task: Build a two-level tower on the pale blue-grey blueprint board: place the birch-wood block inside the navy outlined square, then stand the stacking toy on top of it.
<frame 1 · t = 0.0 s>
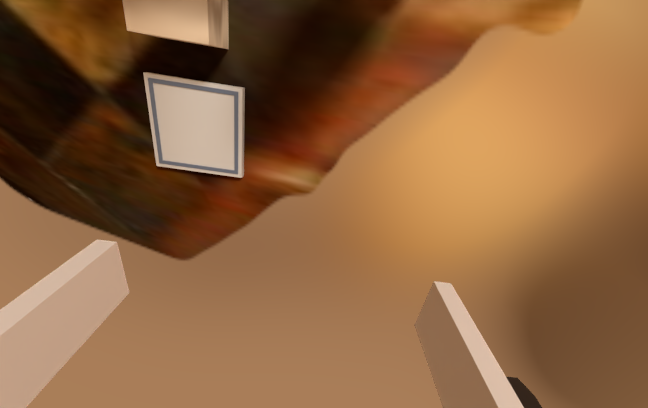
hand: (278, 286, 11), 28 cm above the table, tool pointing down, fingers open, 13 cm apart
blueprint board: (199, 128, 36), on the table
birch block: (193, 3, 30), on the table
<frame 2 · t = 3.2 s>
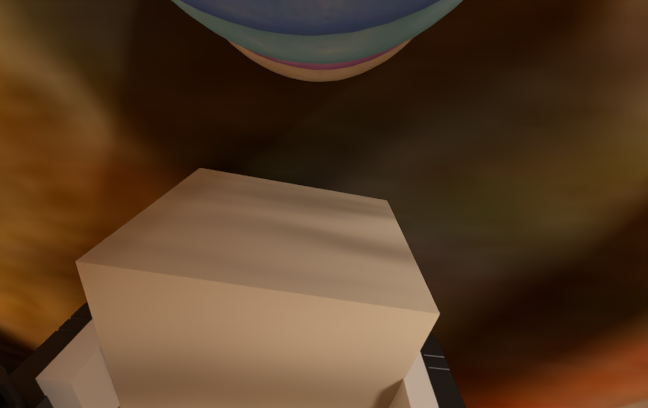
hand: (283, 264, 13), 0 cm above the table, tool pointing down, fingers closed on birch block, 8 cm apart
birch block: (284, 258, 13), on the table, touching gripper
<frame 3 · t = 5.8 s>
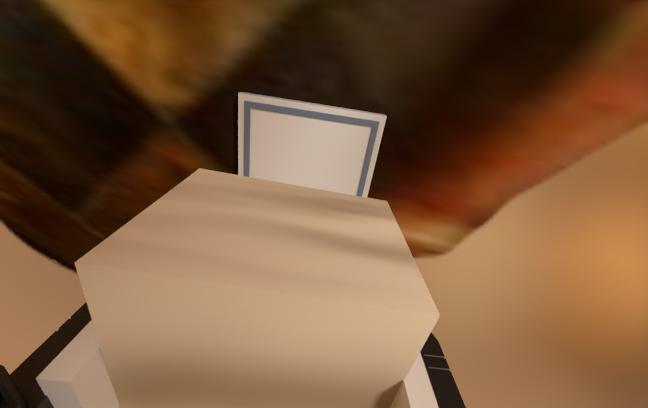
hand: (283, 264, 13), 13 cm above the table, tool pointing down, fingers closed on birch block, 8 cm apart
blueprint board: (305, 170, 25), on the table
birch block: (284, 259, 13), point 13 cm above the table, touching gripper
when the fingers open (2 cm above the table, at t = 8.3 s): birch block stays where it is, resting on blueprint board.
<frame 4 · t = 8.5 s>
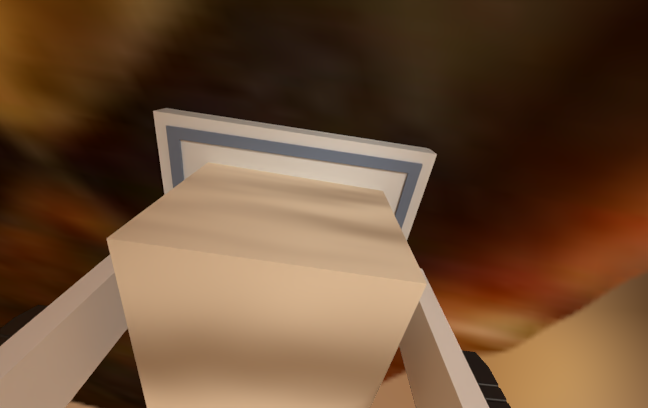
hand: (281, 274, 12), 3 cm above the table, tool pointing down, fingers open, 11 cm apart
blueprint board: (289, 237, 15), on the table
birch block: (287, 248, 14), point 1 cm above the table, touching blueprint board
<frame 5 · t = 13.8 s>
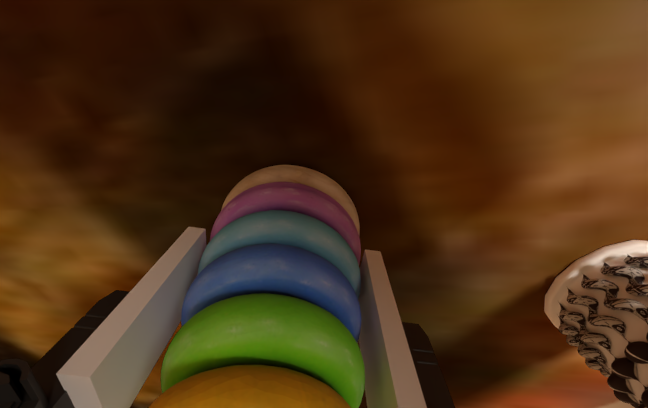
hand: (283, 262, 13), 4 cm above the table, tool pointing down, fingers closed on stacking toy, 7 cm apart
stacking toy: (292, 221, 16), on the table, touching gripper
decorative candle: (605, 288, 18), on the table
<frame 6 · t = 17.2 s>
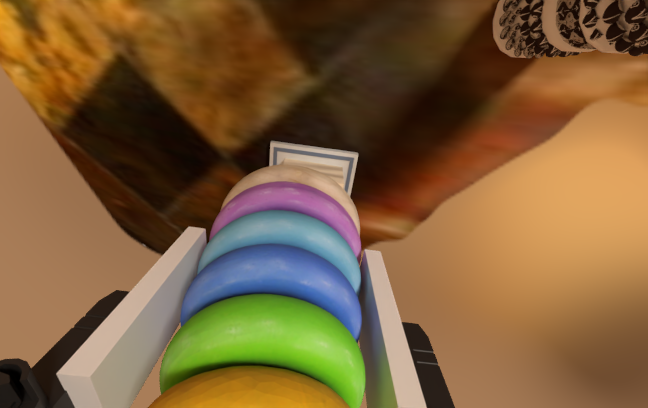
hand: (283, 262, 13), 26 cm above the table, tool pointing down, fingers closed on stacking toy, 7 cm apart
blueprint board: (310, 186, 39), on the table
stacking toy: (292, 221, 16), point 22 cm above the table, touching gripper
birch block: (310, 188, 38), point 1 cm above the table, touching blueprint board
decorative candle: (530, 15, 29), on the table
when the fingers open (12 cm above the table, at t = 20.7 s): stacking toy drops 1 cm, resting on birch block.
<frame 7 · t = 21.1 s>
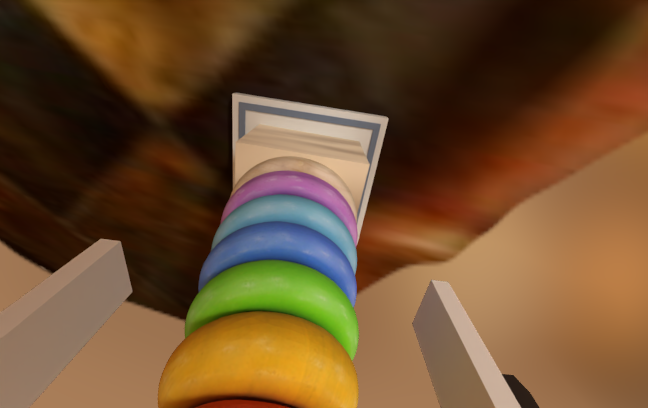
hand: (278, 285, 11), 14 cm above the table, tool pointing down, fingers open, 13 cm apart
blueprint board: (303, 175, 24), on the table
stacking toy: (295, 210, 17), point 7 cm above the table, touching birch block
birch block: (303, 179, 23), point 1 cm above the table, touching blueprint board, stacking toy
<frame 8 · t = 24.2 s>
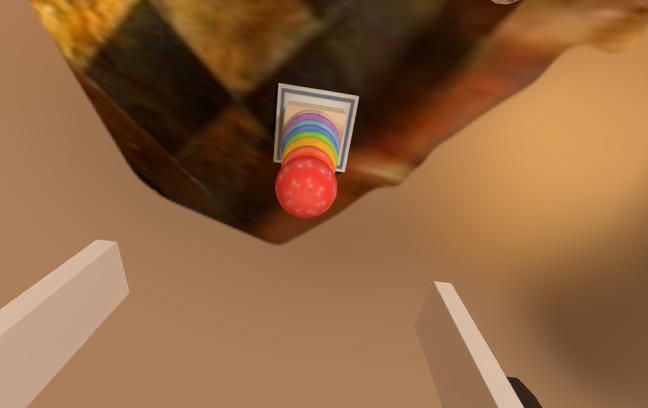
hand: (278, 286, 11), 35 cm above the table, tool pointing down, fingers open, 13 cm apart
blueprint board: (314, 129, 42), on the table
stacking toy: (312, 139, 36), point 7 cm above the table, touching birch block
birch block: (314, 131, 41), point 1 cm above the table, touching blueprint board, stacking toy
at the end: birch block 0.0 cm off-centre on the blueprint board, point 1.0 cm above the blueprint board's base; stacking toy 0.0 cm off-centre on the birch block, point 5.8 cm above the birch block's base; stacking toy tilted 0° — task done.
